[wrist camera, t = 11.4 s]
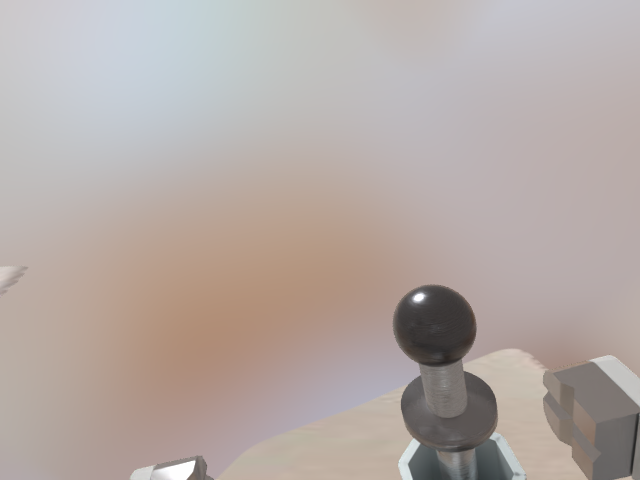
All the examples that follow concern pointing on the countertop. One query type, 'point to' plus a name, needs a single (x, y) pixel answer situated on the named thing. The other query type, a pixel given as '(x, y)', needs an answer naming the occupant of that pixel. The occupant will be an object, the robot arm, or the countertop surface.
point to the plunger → (444, 379)
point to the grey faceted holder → (492, 458)
